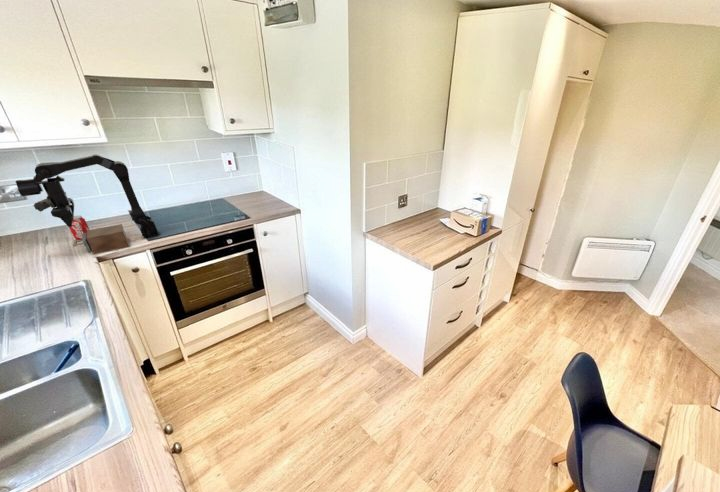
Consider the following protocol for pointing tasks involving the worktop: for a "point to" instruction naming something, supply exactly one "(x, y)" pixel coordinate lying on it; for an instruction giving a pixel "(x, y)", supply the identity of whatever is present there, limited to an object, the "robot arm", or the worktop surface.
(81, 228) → the soda can
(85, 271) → the worktop surface
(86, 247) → the drawer
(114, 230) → the cabinet
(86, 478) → the worktop surface
